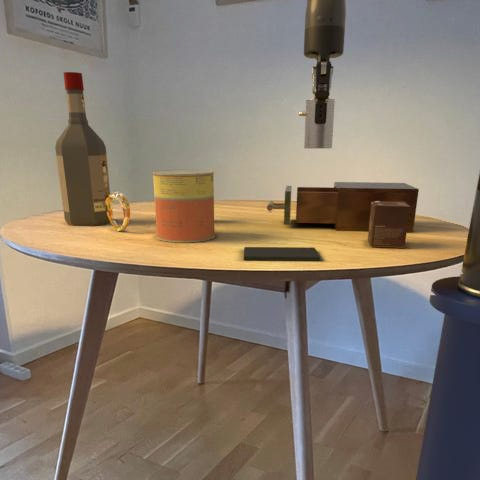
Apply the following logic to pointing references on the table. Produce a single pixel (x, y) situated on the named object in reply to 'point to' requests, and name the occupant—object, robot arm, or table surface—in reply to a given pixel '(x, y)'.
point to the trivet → (281, 253)
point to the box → (388, 224)
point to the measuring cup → (318, 126)
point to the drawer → (310, 205)
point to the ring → (125, 206)
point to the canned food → (184, 205)
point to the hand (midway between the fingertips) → (319, 124)
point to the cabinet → (359, 202)
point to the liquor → (81, 162)
